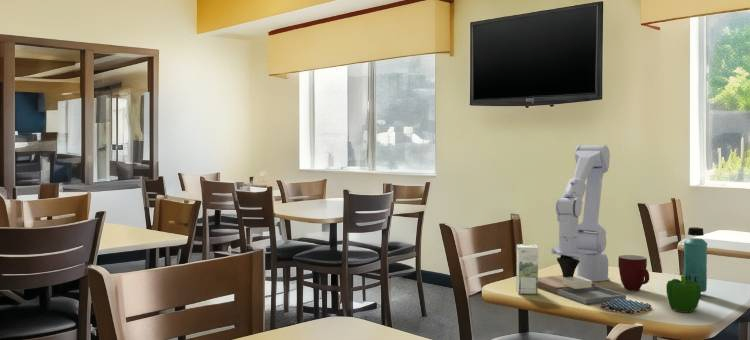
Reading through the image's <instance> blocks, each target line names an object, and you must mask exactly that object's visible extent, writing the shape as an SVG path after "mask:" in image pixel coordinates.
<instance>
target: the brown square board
mask: <svg viewBox="0 0 750 340" xmlns="http://www.w3.org/2000/svg"><path fill="white" fill-rule="evenodd" d="M562 278H563V274H562V275H550V276H542V277H539V276H538V289H541V290H543V291H546V292H549V293H552V294H555V295H557V289H567V288H571V287H568V286H566V285H563V284H562ZM595 285H596V283H594V282H592V286H595Z"/></svg>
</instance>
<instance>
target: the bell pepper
mask: <svg viewBox="0 0 750 340" xmlns="http://www.w3.org/2000/svg"><path fill="white" fill-rule="evenodd" d="M680 279H681V280H680ZM680 279H678V278H673V279H671V280H668V281H667V283H666V296H667V301H668V305H669V307H670V309H671V310H674V311H677V312H681V313H691V312H693V311H695V310H696V309H697V308H698V305H699V303H700V302H699V301H700V297H701V296H702V295H701V294H702V292H701V286H700V284H699V283H698V282H693V281H691V280H686V281H685V275H684V274H681V275H680Z"/></svg>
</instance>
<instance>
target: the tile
mask: <svg viewBox="0 0 750 340" xmlns="http://www.w3.org/2000/svg"><path fill="white" fill-rule="evenodd" d="M573 276H574V277H564V278H562V284H563V285H566V286H568V287H571V288H574V289H580V288H589V287H592V283H593V282H592V281H591V280H588V279H586V278H583V277H580V276H577V275H573Z"/></svg>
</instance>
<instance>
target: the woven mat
mask: <svg viewBox="0 0 750 340" xmlns="http://www.w3.org/2000/svg"><path fill="white" fill-rule="evenodd" d="M599 309H600V310H604V309H605V310H604V311H610V312H613V311H614V310H615V311H614V313H618V312H620V313H619V314H623V313H625V315H628V314H629V316H633V315H635V314H636V315H635V316H637V315H640V314H642V313H645V312H649V311H652V309H653V308H652V305H651V304H650V303H648V302H645V303H644V302H642V301H640V302H639V301H637V300H632V299H629V300H628V299H627V298H626V299H621V298H618V299H617V298H616V299H615V300H614V299H613V300H612V301H608V302H604V303H600V308H599Z"/></svg>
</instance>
